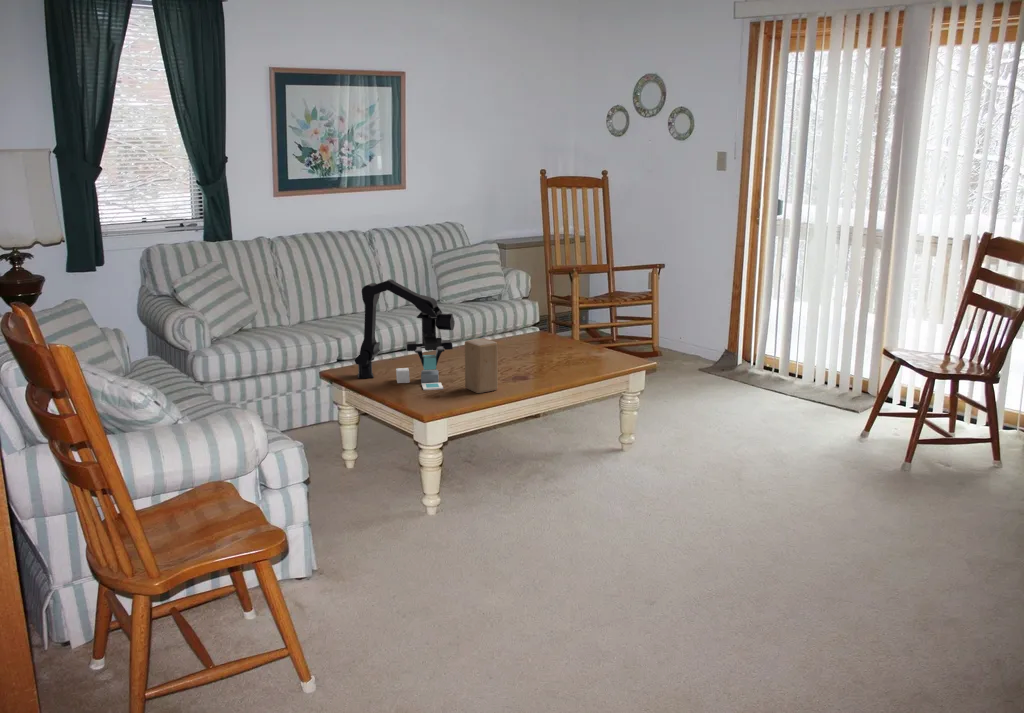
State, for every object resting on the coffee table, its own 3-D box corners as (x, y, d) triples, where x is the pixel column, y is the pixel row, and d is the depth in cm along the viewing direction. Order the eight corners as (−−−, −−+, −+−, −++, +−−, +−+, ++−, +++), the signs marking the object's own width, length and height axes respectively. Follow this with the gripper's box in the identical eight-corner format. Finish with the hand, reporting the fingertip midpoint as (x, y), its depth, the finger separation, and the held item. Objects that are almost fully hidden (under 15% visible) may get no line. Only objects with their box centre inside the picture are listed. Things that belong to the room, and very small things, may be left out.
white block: (396, 380, 376) (396, 368, 375) (408, 379, 377) (408, 367, 376) (397, 383, 371) (397, 371, 370) (409, 382, 372) (409, 371, 371)
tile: (421, 384, 369) (421, 383, 368) (441, 383, 370) (441, 382, 370) (423, 390, 361) (423, 388, 361) (443, 389, 363) (443, 387, 362)
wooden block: (478, 394, 356) (477, 345, 351) (464, 388, 364) (463, 340, 359) (498, 390, 362) (498, 341, 357) (484, 384, 369) (484, 337, 364)
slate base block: (421, 379, 377) (421, 370, 376) (438, 379, 378) (438, 370, 377) (421, 384, 371) (420, 374, 370) (438, 383, 371) (438, 374, 370)
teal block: (422, 366, 375) (422, 355, 373) (434, 366, 376) (434, 354, 374) (424, 370, 370) (423, 358, 369) (436, 369, 371) (436, 357, 370)
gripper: (407, 334, 359) (408, 371, 363) (454, 332, 363) (454, 369, 367) (405, 328, 370) (406, 364, 374) (450, 326, 373) (450, 362, 377)
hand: (429, 365), depth 373 cm, fingers closed on teal block, 5 cm apart
